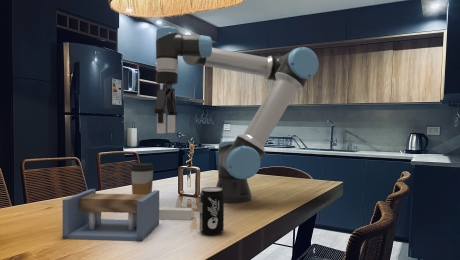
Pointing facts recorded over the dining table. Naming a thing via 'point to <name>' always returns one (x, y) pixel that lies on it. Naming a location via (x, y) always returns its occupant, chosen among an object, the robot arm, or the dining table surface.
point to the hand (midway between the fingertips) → (166, 133)
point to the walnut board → (110, 203)
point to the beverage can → (211, 211)
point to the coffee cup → (142, 178)
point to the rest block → (175, 213)
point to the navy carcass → (110, 220)
